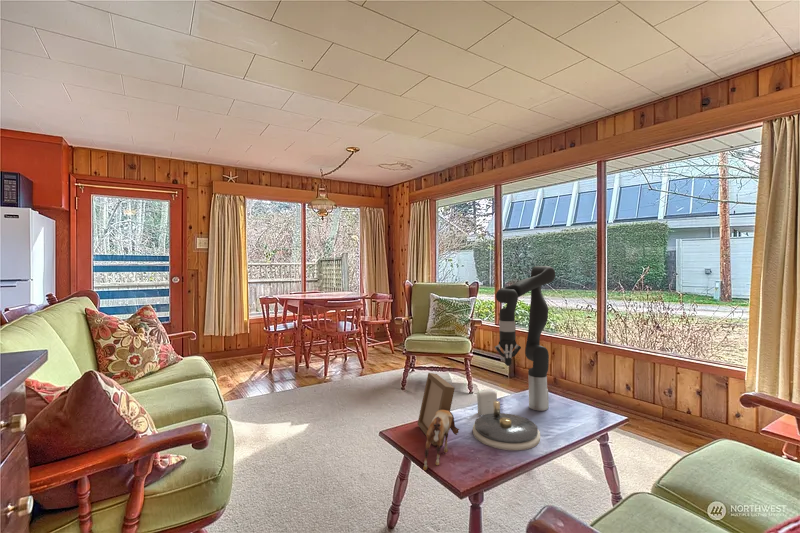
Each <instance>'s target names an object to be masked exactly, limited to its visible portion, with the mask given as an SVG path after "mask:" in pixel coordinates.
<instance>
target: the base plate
mask: <svg viewBox="0 0 800 533" xmlns="http://www.w3.org/2000/svg"><path fill="white" fill-rule="evenodd" d="M472 434H473V437H474V438H475V439H476V440H477V441H478V442H480V443H481V444H484V445H486V446H488V447H491V448H493V449H498V450H504V451H524V450H529V449H532V448H534V447H536V446H538V445H539V444H540V443H541V432H540V430H539V429H538V435H537V436H536V438H534V439H533V440H531V441H528V442H523V443H504V442H498V441H494V440H491V439H488V438H486V437H484V436H482V435H481V434H479V433H478V432H477V431H476V429H475V422H474V424H473V425H472Z"/></svg>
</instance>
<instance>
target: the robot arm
mask: <svg viewBox="0 0 800 533" xmlns="http://www.w3.org/2000/svg"><path fill="white" fill-rule="evenodd" d="M555 278H556V270H555V268H554V267H552V266H549V265H535V266H533V267H532V269H531V272H530V277H526V278H522V279H519V280H518V281H516V282H515V283H513V284H511V285H507V286H504V287H503V286H502V287H501V288H500V289H498V290H497V291H496V293H495V299H496V300H497V302H498V303H501V304H506V305H505V307H503V308H500V310H499V324H498V325H499V327H498V328H499V330H498V331H499V341H498V343H497V345H495V346H494V349H495V350H496V351H497V352H498V354H499V355H500V357H503V358H504V365H505V366H507V367H508V366H509V367H511V365H512V358H514V357H516V356H517V354H518V353H519V351H520V350H522V346H520V345H519V344H517V340H516V339H517V338H516V337H517V336H516V328H517V327H516V319H515V318H516V317H515V315H516V314H515V312H516V308H517V304H518V300H519V297H522V296H524V295H525V294H527V293H529V292H530V304H529V305H530V306H529V316H528V319H529V320H528V331H527V338H526V344H525V349H524V354H525V358H526V359H528V360H529V361H531V362H532V367H530V368H528V373H527V374H528V379H527V380H528V408H529V409H531V410H534V411H540V412H541V411H542V412H544V411H547V410H548V408H549V406H550V405H549V401H550V400H549V389H548V372H549V365H550V363H549V361H550V354H549V351H548V349H547V347H545V346H542V345H541V343H540V341H541V335H542V333H543V332H542V331H543V330H544V328H545V327H546V325H547V323H548V317H549V306H548V303H547V301H546V300H545V297H544V295H543V293H542V292H543V291H542V286H545V285H547V284H551V283H553V282H554V280H555ZM501 349H502V350H501Z"/></svg>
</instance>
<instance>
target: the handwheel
mask: <svg viewBox="0 0 800 533" xmlns="http://www.w3.org/2000/svg"><path fill="white" fill-rule="evenodd" d="M493 406H494V413H493V414H486V415H480V416H479V417H477V418H476V419H475V421H474V423H475V429H476V431H477V432H478V433H479V434H481V435H482V436H484V437H486V438H488V439H491V440H494V441H498V442H504V443H523V442H528V441H531V440H533V439H534V438H536V436H537V435H538V430H539V429H538V425H536V423H535V422H534V421H532V420H530V419H529V418H526V417H523V416H521V415H517V414H512V413H505V412H502V413H501V402H500V401H499V400H497V401H494V402H493Z"/></svg>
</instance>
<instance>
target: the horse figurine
mask: <svg viewBox="0 0 800 533" xmlns="http://www.w3.org/2000/svg"><path fill="white" fill-rule="evenodd" d="M449 429H450V430H451V431H452V433H453V434H454V435H455V436H458V434H459V430H460V428H457V427H456V424H455V418H454V415H453V413H452V412H451V410H450V411H448V410H447V411H446V410H439V411H437V412H436V413H435V417H434V418H433V420H432V422H431V424H430V426H429V429H428V431H427V436H426V442H425V450H424V463H423V464H424V465H423V470H424V471H427V470H428V456H429V451H430V448H431V445H432V443H431V442H433V441H435V442H437V445H436V460H435V466H439V465H440V451H441V447H442V446H441V445H442V441H441V440H442V439H443V434H444V433H445V437H444V448H443V453H445V454H446V453H448V438H449V437H448V436H449V432H450V430H449Z"/></svg>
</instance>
